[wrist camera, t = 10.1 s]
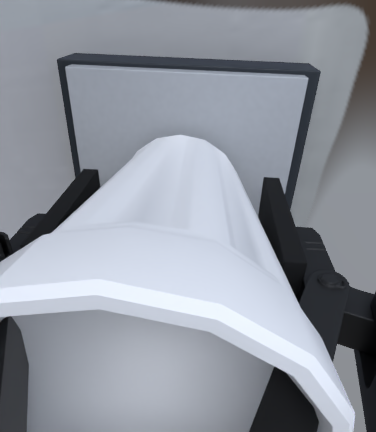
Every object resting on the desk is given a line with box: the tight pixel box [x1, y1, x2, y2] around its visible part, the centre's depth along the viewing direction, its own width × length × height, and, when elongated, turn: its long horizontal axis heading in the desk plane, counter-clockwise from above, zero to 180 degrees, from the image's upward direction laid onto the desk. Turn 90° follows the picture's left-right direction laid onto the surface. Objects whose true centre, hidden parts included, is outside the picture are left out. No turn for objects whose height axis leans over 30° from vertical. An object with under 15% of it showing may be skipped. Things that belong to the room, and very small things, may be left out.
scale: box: [57, 53, 320, 216], centre depth 21 cm, size 13×13×4 cm
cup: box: [0, 135, 355, 432], centre depth 13 cm, size 10×10×13 cm
